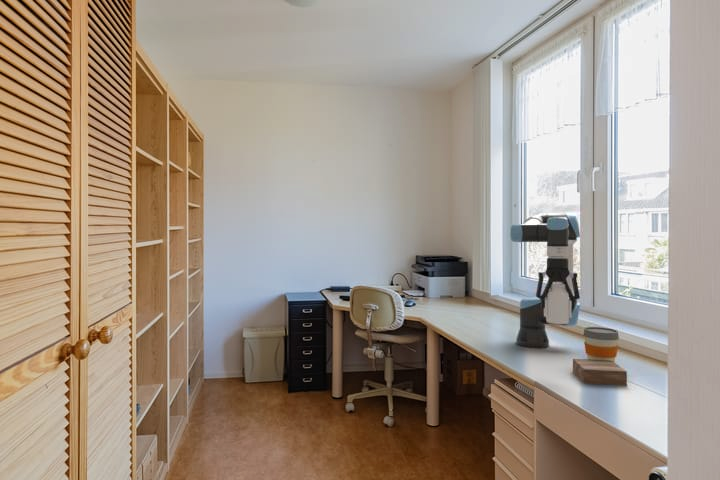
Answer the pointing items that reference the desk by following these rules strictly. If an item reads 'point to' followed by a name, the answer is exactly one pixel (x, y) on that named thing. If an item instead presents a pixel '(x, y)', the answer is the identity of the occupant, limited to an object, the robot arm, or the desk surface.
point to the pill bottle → (557, 304)
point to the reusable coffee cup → (601, 343)
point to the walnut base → (599, 372)
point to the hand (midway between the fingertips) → (557, 316)
